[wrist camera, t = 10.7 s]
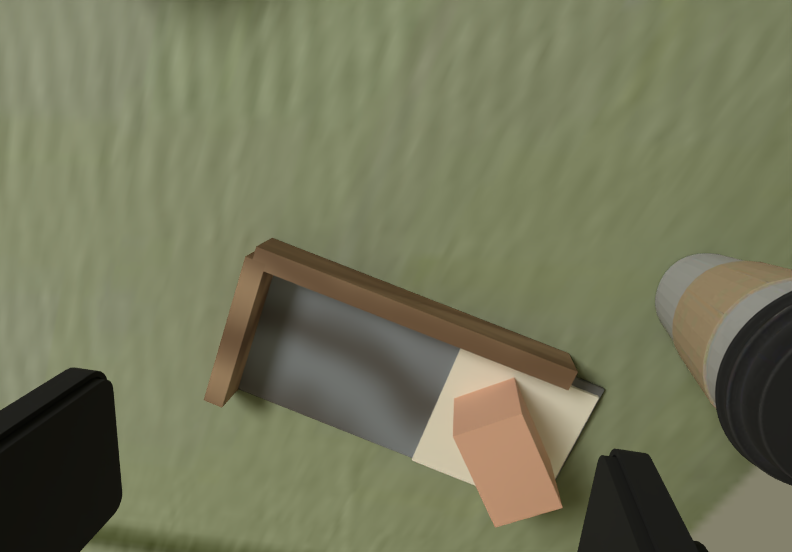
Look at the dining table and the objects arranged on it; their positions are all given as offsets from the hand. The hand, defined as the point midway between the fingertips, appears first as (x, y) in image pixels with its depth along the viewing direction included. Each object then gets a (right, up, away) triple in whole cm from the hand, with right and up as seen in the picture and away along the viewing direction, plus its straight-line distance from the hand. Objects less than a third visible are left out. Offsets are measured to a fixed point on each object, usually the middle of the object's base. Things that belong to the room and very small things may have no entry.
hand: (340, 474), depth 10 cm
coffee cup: (+21, +3, +25) cm, 33 cm away
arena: (+2, -4, +29) cm, 29 cm away
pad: (+9, -7, +28) cm, 31 cm away
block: (+9, -7, +28) cm, 30 cm away
